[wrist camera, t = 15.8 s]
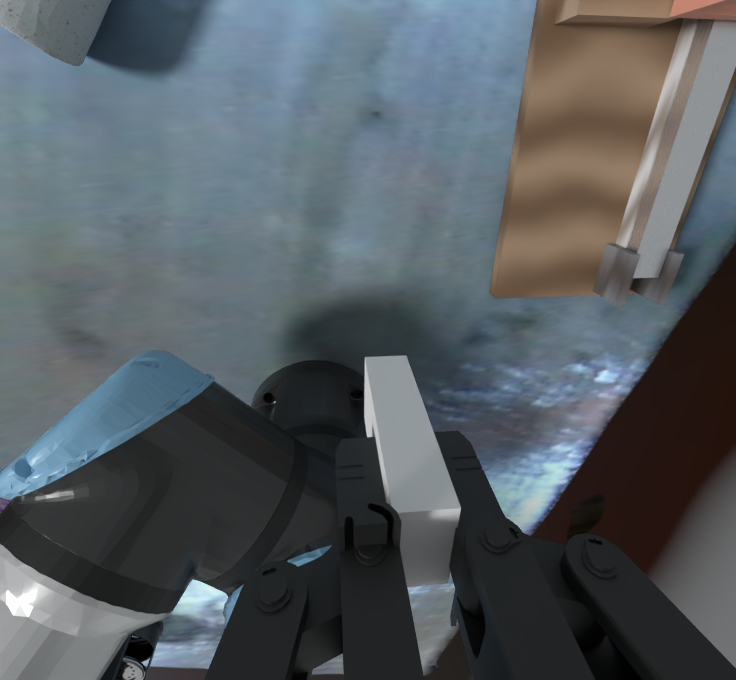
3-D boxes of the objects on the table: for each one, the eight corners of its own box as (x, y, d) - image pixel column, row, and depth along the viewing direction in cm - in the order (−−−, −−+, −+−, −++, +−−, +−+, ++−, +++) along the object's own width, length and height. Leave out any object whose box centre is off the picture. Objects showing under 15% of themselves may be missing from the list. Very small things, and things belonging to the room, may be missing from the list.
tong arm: (647, 272, 40) (658, 277, 39) (618, 273, 40) (629, 278, 38) (761, -53, 29) (782, -62, 27) (723, -56, 28) (742, -64, 27)
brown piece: (647, 288, 44) (686, 308, 40) (489, 292, 43) (510, 314, 38) (782, -88, 30) (869, -129, 25) (554, -104, 29) (600, -150, 24)
